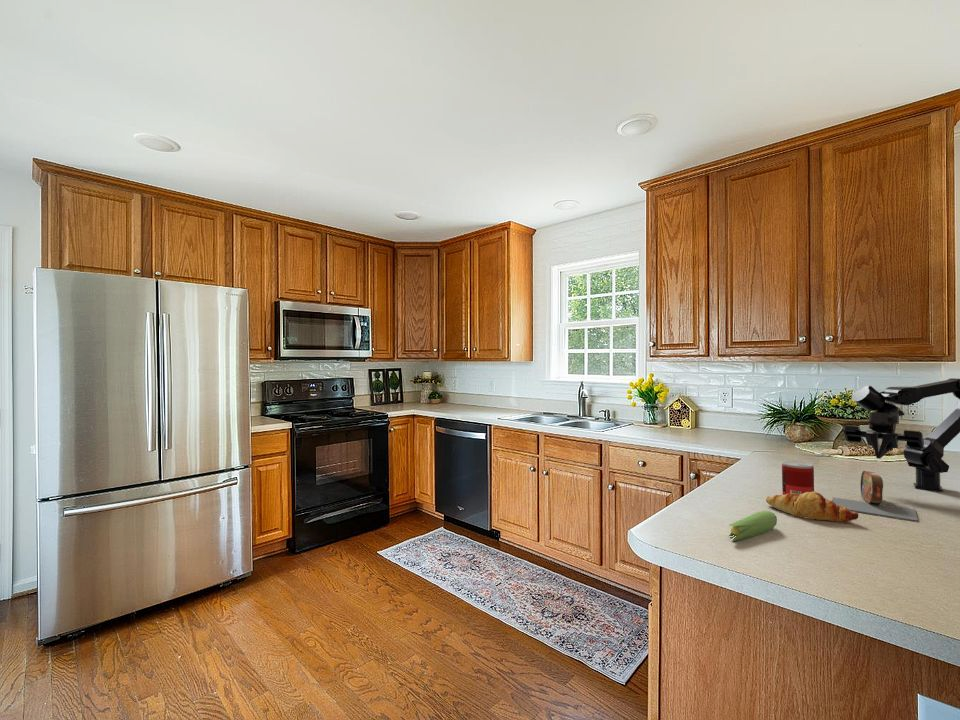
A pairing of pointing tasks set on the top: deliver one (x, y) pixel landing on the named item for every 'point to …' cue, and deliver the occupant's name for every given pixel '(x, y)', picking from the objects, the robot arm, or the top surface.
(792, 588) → the top surface
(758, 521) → the edible corn
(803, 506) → the croissant
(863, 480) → the tin
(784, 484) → the canned food
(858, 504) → the mat
